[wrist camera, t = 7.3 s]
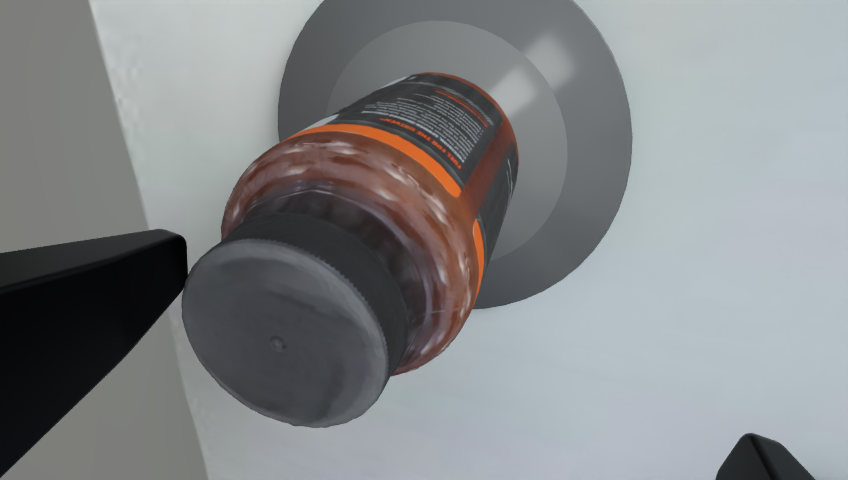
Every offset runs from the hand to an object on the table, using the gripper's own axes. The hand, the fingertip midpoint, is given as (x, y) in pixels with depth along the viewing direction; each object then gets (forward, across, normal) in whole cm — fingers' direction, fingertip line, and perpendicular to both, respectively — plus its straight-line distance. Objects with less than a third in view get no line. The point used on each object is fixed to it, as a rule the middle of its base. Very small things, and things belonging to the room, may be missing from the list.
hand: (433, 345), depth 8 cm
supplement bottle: (+11, +3, +1) cm, 12 cm away
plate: (+12, +3, +1) cm, 13 cm away
